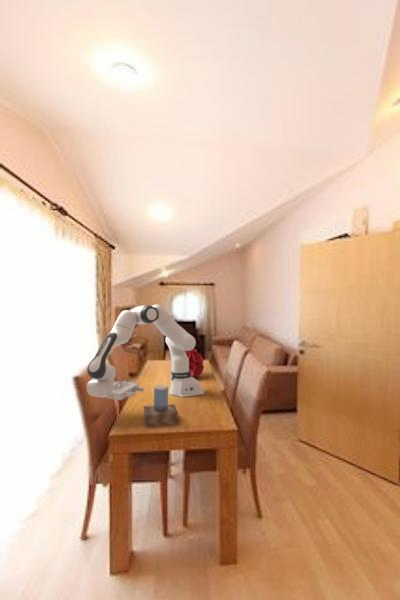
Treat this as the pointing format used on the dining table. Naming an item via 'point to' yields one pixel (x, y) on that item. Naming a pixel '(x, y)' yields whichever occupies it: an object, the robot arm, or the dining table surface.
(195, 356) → the bouquet
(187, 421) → the dining table surface
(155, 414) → the walnut box
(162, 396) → the slate tin
